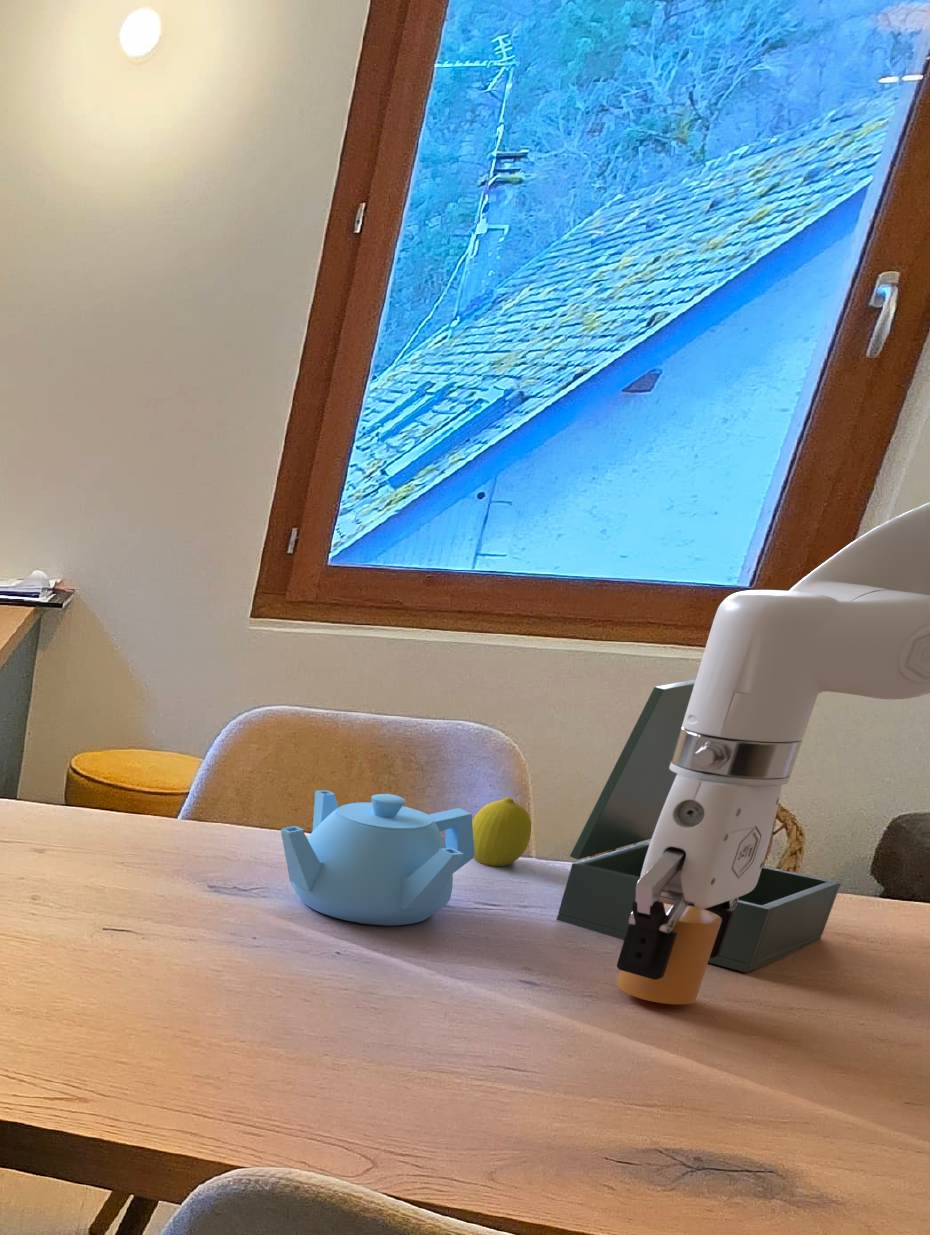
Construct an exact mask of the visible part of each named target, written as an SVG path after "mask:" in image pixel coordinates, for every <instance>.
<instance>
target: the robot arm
mask: <svg viewBox="0 0 930 1235" xmlns="http://www.w3.org/2000/svg"><path fill="white" fill-rule="evenodd" d="M702 654H703V655H702V657H701V662H700V664H699V668H698V671H697V675H696V678H695V679H696V681H695V684H694V687H693V691H692V694H691V697H690V701H689V704H688V707H687V711H686V714H685V717H684V721H683V724H682V727H681V730H680V733H679V737H678V740H677V743H676V747H675V750H674V753H673V757H672V760H671V764H670V766H669V769H670V770H671V771H673V772H675V773H677V776H676V778H675V780H674V782H673V785H672V787H671V789H670V792H669V794H668V797H667V799H666V802H665V804H664V807H663V809H662V812H661V814H660V817H659V820H658V822H657V825H656V828H655V830H654V833H653V836H652V839H650V845H649V848H648V851H647V854H646V857H645V861H644V864H643V868H642V872H641V876H640V879H639V881H638V882H637V884H636V895H635V900H634V901H633V902H632V904H633V905H632V911H633V912H632V913H631V915H630V917H629V926H628V930H627V933H626V936H625V940H623V943H622V946H621V950H620V953H619V956H618V960H617V963H616V968H617V969H618V971H619V970H620V971H621V970H622V971H626V972H629V973H633V974H636V975H640V976H643V977H647V978H650V979H654V980H657V979H660V978H662V977H663V976H664V973H665V970H666V967H667V964H668V961H669V958H670V954H671V951H672V948H673V945H674V942H675V939H676V936H677V933H676V932H672V929H673V928H674V926H675V925H676V923H677V922H678V920H679V918H680V917H681V915H682V914H683V912H684V911H685V909H686V907H687V906H693V907H696V908H700V909H704V910H707V911H710V912H713V913H715V914H717V915H719V916H720V917H721V918H722V922H721V925H720V928H719V931H718V934H717V937H716V940H715V943H714V946H713V949H712V952H711V955H710V958H714V957H716V956H718V955H719V954H720V951H721V948H722V945H723V942H724V939H725V936H726V933H727V930H728V927H729V924H730V921H731V918H732V915H733V912H730V911H733V910H734V909H735V907H736V906H737V904H738V899H739V898H738V897H740V896H743V895H745V894H747V893H749V892H751V891H752V890H753V889H754V888H755V887H756V885H757V882H758V879H759V876H760V873H761V869H762V866H764V861H765V858H766V854H767V851H768V847H769V844H770V840H771V836H772V833H773V830H774V826H775V823H776V822H775V821H776V818H777V814H778V808H779V804H780V799H781V795H782V794H781V793H782V786H783V785H788V783H789V781H790V778H791V775H792V772H793V769H794V766H795V765H796V764H795V763H796V760H797V758H798V754H799V752H800V748H801V745H802V742H803V739H804V737H805V734H806V731H807V728H808V725H809V722H810V719H811V716H812V713H813V710H814V707H815V704H816V701H817V698H818V695H819V694H822V693H825V692H828V693H829V692H831V693H837V694H838V693H839V694H847V695H853V696H860V697H866V698H872V699H880V700H907V699H913V698H918V697H923V696H926V695H929V694H930V501H929V502H926V503H925V504H922V505H920V506H917V507H916V508H913V509H911V510H908V511H906V512H904V513H902V514H900V515H897V516H896V517H893V518H892V519H889V520H888V521H886V522H883V523H881V524H880V525H878V526H876V527H875V528H873V529H871V530H870V531H868V532H866V533H865V534H862V535H861V536H859V537H858V538H856V539H855V540H854V541H852V542H850V543H849V544H847V545H846V546H845V547H843V548H842V549H841V550H839V551H838V552H836V553H834V555H833V556H831V557H829V558H828V559H827V560H826V561H824V562H823V563H821V564H820V565H819V566H818V567H816V568H815V569H814V570H812V571H810V573H808V574H807V575H806V576H804V577H802V579H801V580H798V582H797V583H796V584H794V585H793V586H792V587H791V588H790V589H789V590H781V589H780V590H779V589H750V590H742V591H741V590H740V591H737V592H734V593H732V594H730V595H728V596H727V597H726V598H724V599H723V601H722V602H721V603H720V604H719V606H718V608H717V610H716V612H715V615H714V617H713V621H712V624H711V628H710V631H709V634H708V638H707V641H706V644H705V647H704V651H703V653H702ZM667 890H672V891H676V892H680V893H682V894H678V893H674V892H670V891H667ZM663 903H666V904H670V905H672V906H671V908H670V910H669V911H668V913H667V914H666V912H665V908H664V904H663ZM725 910H730V911H725Z"/></svg>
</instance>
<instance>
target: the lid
mask: <svg viewBox="0 0 930 1235" xmlns="http://www.w3.org/2000/svg"><path fill="white" fill-rule="evenodd" d="M695 681H696V678H695V679H691V680H685V681H679V682H674V683H669V684H663V685H658V686H657V685H656V686H654V687H653V689H652V691H651V693H650V695H649V697H648V699H647V701H646V702H645V705H644V706H643V708H642V710H641V713H640V714H639V717H638V719H637V720H636V723H635V725H634V727H633V728H632V730H631V732H630V734H629V736H628V739H627V741H626V743H625V745H624V747H623V749H622V751H621V753H620V755H619V757H618V758H617V760H616V763H615V765H614V767H613V768H612V770H611V772H610V774H609V777H608V779H607V781H606V783H605V785H604V786H603V788H602V790H601V793H600V795H599V797H598V799H597V800H596V803H595V805H594V806H593V808H592V810H591V813H590V815H589V817H588V819H587V821H586V823H585V824H584V827H583V829H582V830H581V833H580V835H579V837H578V838H577V841H576V843H575V844H574V847H573V848H572V850H571V852H570V855H569V857H570V858H573V859H575V860H578V861H580V860H581V859H582V860H583V859H585V858H590V857H593V856H597V855H600V854H603V853H607V852H611V851H613V850H618V849H621V848H625V847H628V846H632V845H635V844H639V843H641V842H646V841H648V840H651V839H652V836H653V833H654V830H655V828H656V825H657V822H658V820H659V817H660V814H661V812H662V809H663V807H664V804H665V802H666V799H667V797H668V794H669V792H670V789H671V787H672V785H673V782H674V780H675V778H676V776H677V773H675V772H673V771H671V770H670V769H669V766H670V764H671V760H672V757H673V753H674V750H675V747H676V743H677V740H678V737H679V733H680V730H681V727H682V724H683V721H684V717H685V714H686V711H687V707H688V704H689V701H690V697H691V694H692V691H693V687H694V684H695Z"/></svg>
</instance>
